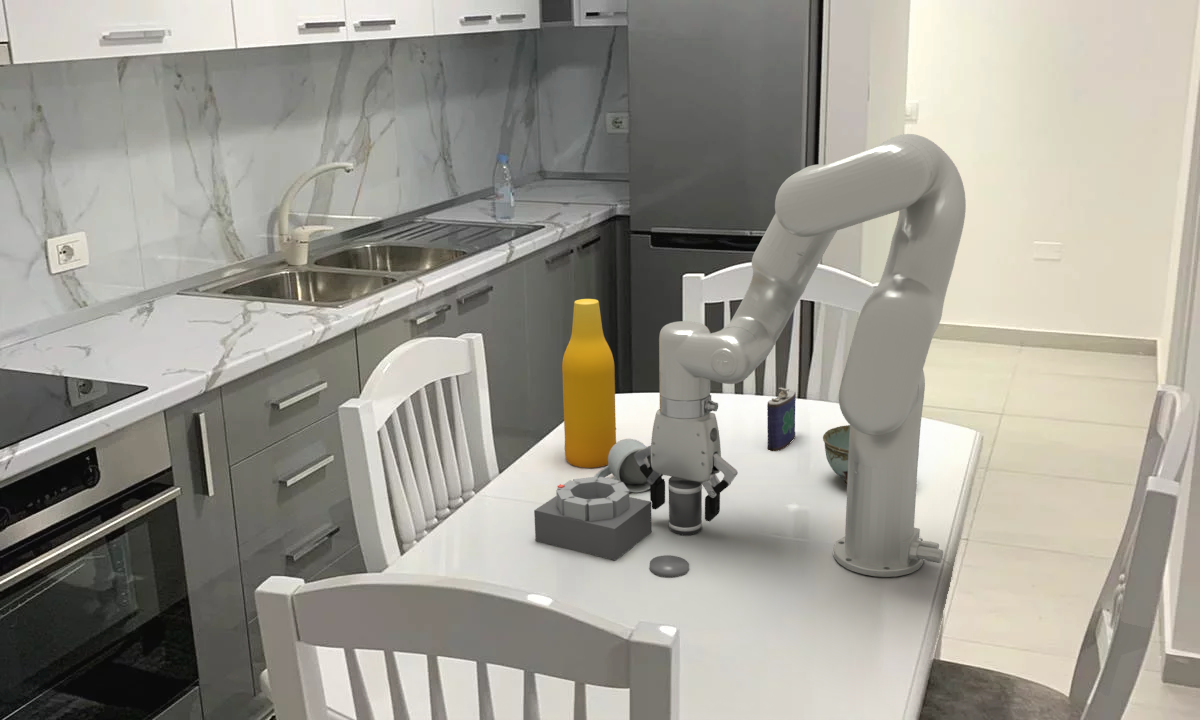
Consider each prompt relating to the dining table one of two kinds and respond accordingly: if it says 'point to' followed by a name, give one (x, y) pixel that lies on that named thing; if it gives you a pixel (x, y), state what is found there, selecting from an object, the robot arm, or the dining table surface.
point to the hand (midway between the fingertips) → (684, 511)
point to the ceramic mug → (626, 465)
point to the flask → (781, 420)
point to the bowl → (838, 450)
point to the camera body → (593, 518)
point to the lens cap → (669, 566)
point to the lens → (685, 506)
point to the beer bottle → (588, 390)
